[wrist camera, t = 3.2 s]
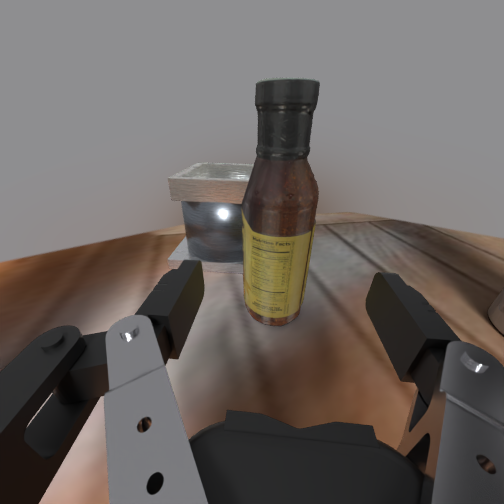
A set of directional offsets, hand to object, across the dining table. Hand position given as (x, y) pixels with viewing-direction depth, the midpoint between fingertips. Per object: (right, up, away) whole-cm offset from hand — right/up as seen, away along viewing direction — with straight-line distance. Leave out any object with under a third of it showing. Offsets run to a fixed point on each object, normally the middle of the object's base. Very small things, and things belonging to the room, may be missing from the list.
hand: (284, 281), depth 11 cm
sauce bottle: (+1, -5, +14) cm, 15 cm away
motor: (-5, +2, +25) cm, 25 cm away
